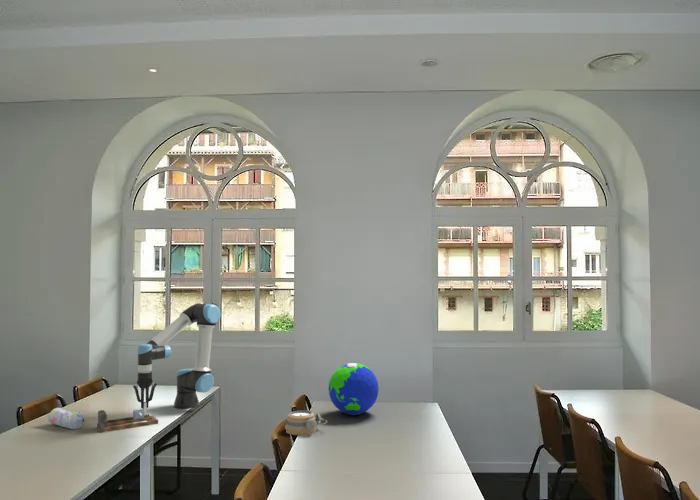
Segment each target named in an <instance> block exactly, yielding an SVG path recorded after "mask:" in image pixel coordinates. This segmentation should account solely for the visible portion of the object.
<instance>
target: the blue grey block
mask: <svg viewBox="0 0 700 500" xmlns="http://www.w3.org/2000/svg"><path fill="white" fill-rule="evenodd" d="M132 417H133V420H135V419H142V418H144V410H143V409H142V408H141V409H134V410H132Z"/></svg>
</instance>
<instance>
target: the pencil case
mask: <svg viewBox="0 0 700 500" xmlns="http://www.w3.org/2000/svg"><path fill="white" fill-rule="evenodd" d="M48 422H49V423H50V424H52V425H53V426H59V427H62V428H66V429H70V430H78V429H80V428H81V427H82V426H84V424H85V417H84V414H83V413H82V412H81V411H78V410H76V411H68V410H66V409H64V408H61V407H55V408H53V409H52V410H51V411H49V414H48Z"/></svg>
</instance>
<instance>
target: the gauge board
mask: <svg viewBox="0 0 700 500" xmlns="http://www.w3.org/2000/svg"><path fill="white" fill-rule="evenodd" d="M152 425H159V419H158V418H156V417H155V416H154V415H150V414H145V415H144V418H142V419H135V420H133V416H129V417H121V418H113V419H109V420H108V413H107V412H106V411H105V410H103V409H101V410H98V411H97V423H96V428H97V430H98V431H100V432H101V433H107V432H113V430H114V431H119V430H120V429H121V430H126V428H127V429H132V428H133V427H134V428H140V427H146V426H152ZM134 428H133V429H134ZM106 431H107V432H106ZM100 432H99V433H100Z"/></svg>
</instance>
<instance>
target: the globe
mask: <svg viewBox="0 0 700 500" xmlns="http://www.w3.org/2000/svg"><path fill="white" fill-rule="evenodd" d="M328 395H329V397H330V401H331V403H332V404H333V405H334V407H335V408H336V409H338V410H339V411H340V412H343V413H344V414H346V415H350V416H356V415H360V414H363V413H366V412H368V411H369V410H370V409H371V408H372V407H373V406H374V404H375V403H376V401H377V399H378V396H379V381H378V379H377V376H376V375H375V373H374V372H373V370H371V369H370V368H369V367H368V366H366V365H364V364H361V363H356V362H351V363H350V362H348V363H346V364H343V365H340V366H339V367H338V368H337V369H336V370H335V371H334V372H333V373H332V374H331V377H330V379H329V382H328Z"/></svg>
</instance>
